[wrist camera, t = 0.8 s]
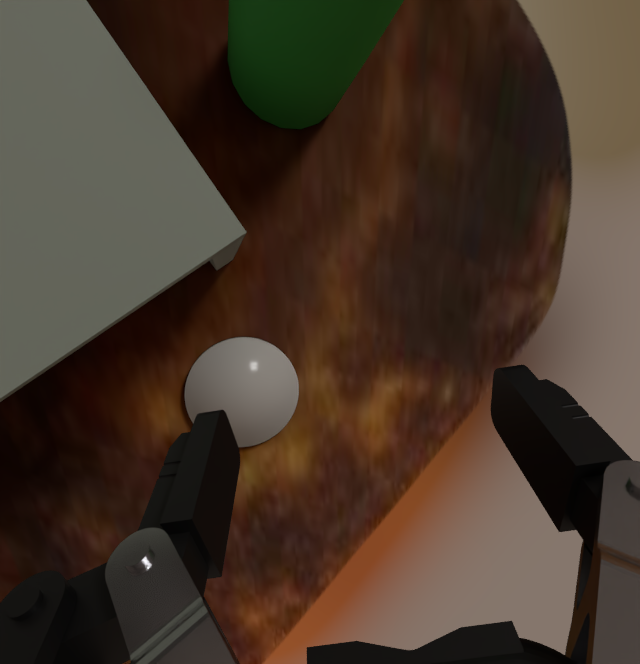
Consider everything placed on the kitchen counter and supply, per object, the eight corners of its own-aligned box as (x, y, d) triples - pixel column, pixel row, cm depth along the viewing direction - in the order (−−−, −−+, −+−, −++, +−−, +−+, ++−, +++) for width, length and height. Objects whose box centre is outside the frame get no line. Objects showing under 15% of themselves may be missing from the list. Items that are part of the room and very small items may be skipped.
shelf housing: (56, 380, 28) (-169, 512, 12) (-106, 205, 25) (-737, 53, 8) (232, 259, 30) (246, 232, 14) (105, 82, 27) (-75, -232, 10)
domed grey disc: (192, 453, 31) (192, 456, 31) (178, 343, 30) (177, 344, 29) (301, 434, 33) (303, 436, 33) (292, 331, 32) (293, 331, 32)
